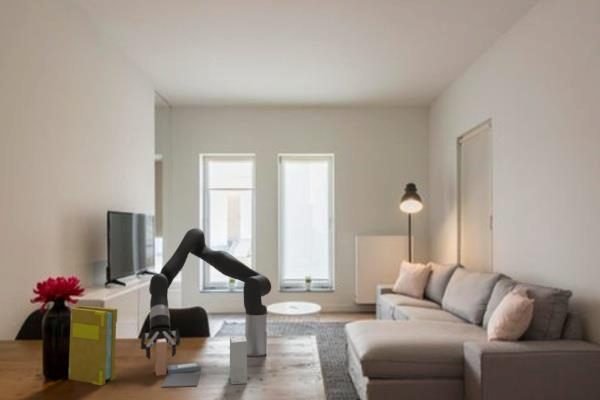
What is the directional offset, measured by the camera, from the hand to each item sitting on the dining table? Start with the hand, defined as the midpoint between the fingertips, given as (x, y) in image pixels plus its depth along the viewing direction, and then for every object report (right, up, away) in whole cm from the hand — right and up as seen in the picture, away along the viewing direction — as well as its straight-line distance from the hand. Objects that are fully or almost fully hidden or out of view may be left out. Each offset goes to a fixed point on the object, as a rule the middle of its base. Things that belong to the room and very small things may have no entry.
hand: (161, 357), depth 161 cm
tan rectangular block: (-1, -6, +1) cm, 6 cm away
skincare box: (+30, -7, -5) cm, 31 cm away
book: (-24, -6, -6) cm, 25 cm away
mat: (+9, -6, -6) cm, 13 cm away
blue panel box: (+7, -6, +4) cm, 11 cm away
